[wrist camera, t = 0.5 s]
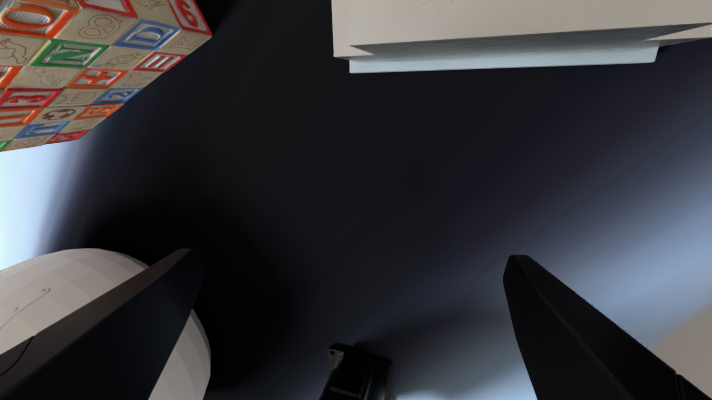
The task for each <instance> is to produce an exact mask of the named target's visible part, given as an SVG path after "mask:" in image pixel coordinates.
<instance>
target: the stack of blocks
mask: <svg viewBox="0 0 712 400" xmlns="http://www.w3.org/2000/svg"><path fill="white" fill-rule="evenodd" d="M211 37H212V33H211V31H210V29H209V27H208V25H207V23H206V21H205V19H204V17H203V15H202V13H201V11H200V10H199V8H198V6H197V4H196V2H195V0H0V152H1V151H9V150H16V149H23V148H30V147H36V146H41V145H45V144H52V143H60V142H66V141H72V140H77V139H79V138H80V137H81V136H82V135H84V134H85V133H86V132H87V131H88V130H90V129H92V128H94V127H95V126H96V125H98V124H99V123H100V122H102V121H103V120H104V119H105V118H106V117H107V116H109V115H111V114H112V113H113V112H115V111H116V110H117V109H119V108H120V107H121V106H123V105H124V102H126V101H128V100H129V99H130V98H131V97H133V96H134V95H135V94H137V93H138V92H139V91H141V90H142V89H143V87H145V86H147V85H148V84H149V83H150V82H152V81H153V80H154V79H156V78H157V77H158V76H159V75H161V74H162V73H163V72H166V71H167V70H169V69H170V68H171V67H173V66H174V65H175V64H177V63H178V62H179V61H181V60H182V59H183V58H184V57H186V56H187V55H188V54H190V53H191V52H193V51H194V50H195V49H197V48H198V47H199V46H201V45H202V44H203V43H205V42H206V41H207V40H209V39H210V38H211Z"/></svg>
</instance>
